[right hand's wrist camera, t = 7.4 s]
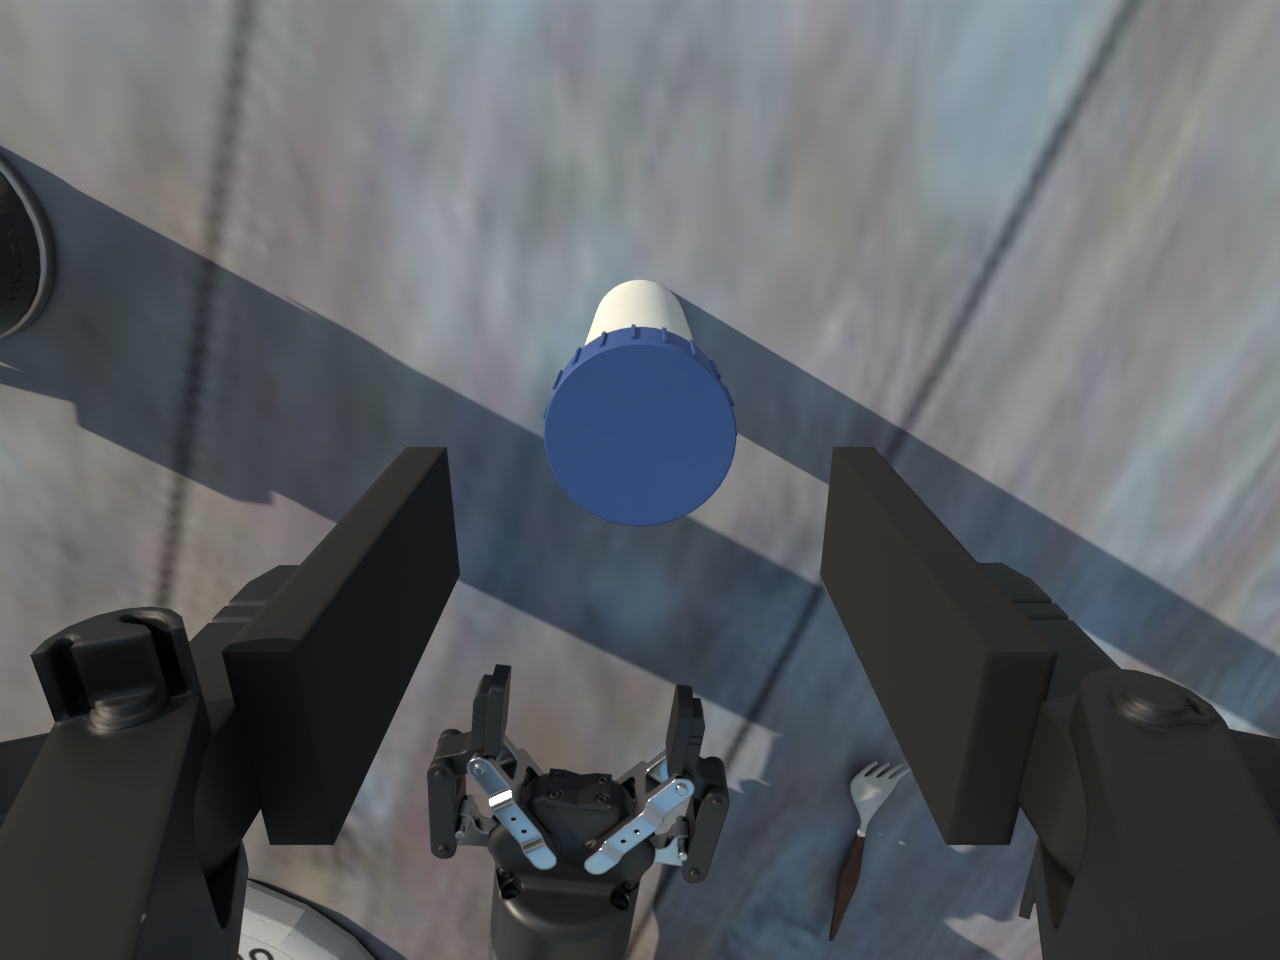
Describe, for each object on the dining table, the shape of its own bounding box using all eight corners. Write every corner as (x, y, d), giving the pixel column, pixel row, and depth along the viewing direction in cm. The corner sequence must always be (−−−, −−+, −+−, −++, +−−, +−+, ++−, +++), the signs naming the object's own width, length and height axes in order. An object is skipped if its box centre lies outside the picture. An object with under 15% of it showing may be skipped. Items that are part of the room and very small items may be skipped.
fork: (808, 931, 48) (815, 961, 46) (861, 737, 42) (872, 762, 40) (848, 934, 48) (856, 964, 46) (906, 740, 42) (919, 766, 40)
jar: (621, 386, 34) (607, 532, 20) (577, 306, 33) (529, 400, 18) (700, 345, 34) (747, 465, 19) (659, 262, 32) (675, 323, 18)
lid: (604, 522, 22) (600, 558, 20) (517, 376, 20) (502, 398, 18) (757, 448, 21) (770, 478, 19) (679, 290, 19) (684, 303, 17)
